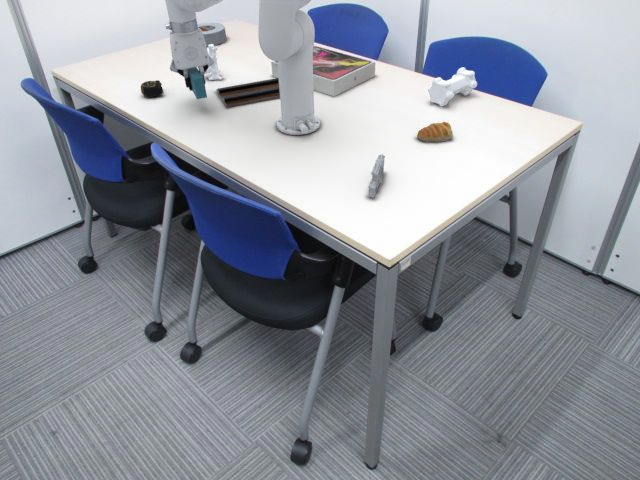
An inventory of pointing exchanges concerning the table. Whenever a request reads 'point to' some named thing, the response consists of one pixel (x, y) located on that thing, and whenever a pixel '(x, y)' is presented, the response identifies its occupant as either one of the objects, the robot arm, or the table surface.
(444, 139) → the pastry
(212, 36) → the tape roll
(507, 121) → the table surface
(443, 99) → the bone shaped toy
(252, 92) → the holder board
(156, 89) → the tape measure
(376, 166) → the garden wall model
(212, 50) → the white animal statuette
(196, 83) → the teal bar
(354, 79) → the product packaging
